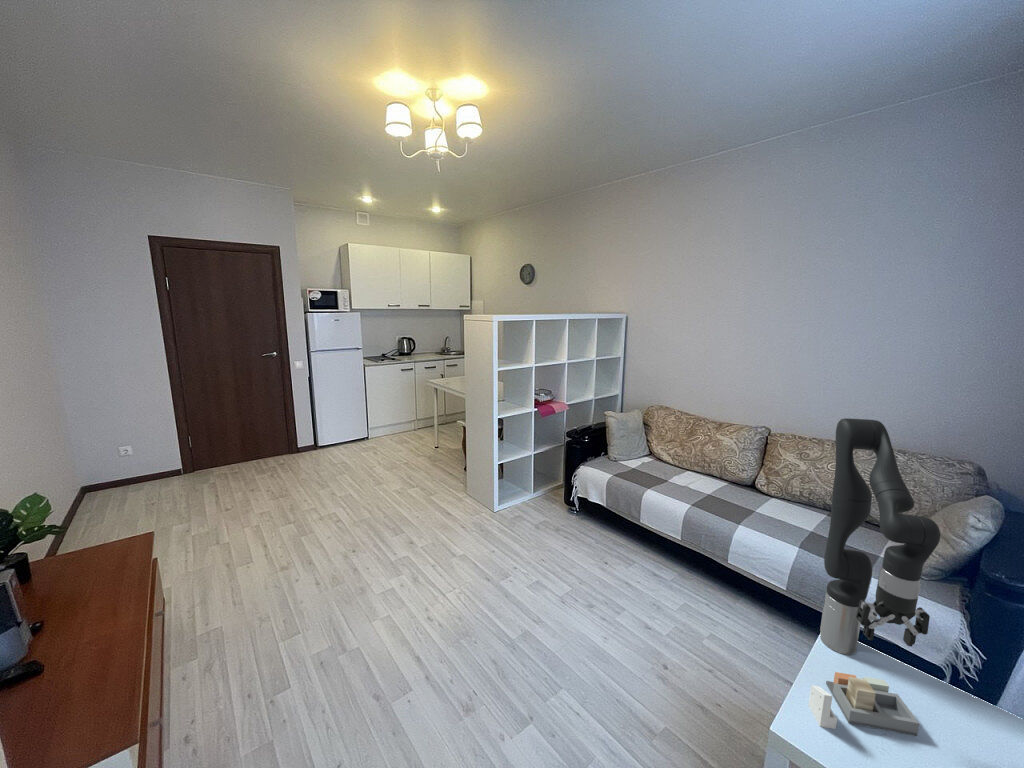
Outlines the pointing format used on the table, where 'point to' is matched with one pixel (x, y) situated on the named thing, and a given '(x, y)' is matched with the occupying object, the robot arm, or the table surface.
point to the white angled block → (822, 707)
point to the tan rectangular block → (860, 694)
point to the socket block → (875, 707)
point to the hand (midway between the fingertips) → (887, 640)
